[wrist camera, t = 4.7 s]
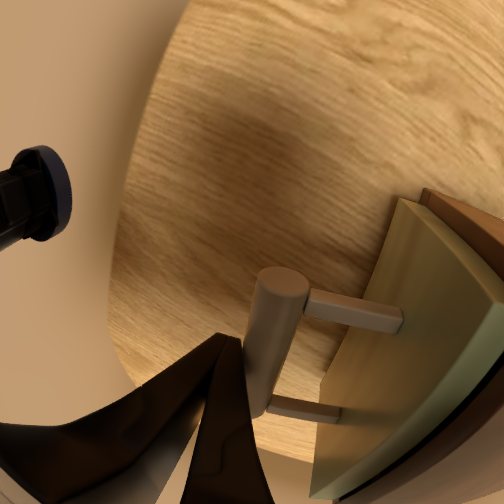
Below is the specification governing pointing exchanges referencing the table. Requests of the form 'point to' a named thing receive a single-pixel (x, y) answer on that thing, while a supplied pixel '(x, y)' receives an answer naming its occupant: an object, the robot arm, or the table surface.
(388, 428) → the drawer
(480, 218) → the cabinet
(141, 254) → the table surface
